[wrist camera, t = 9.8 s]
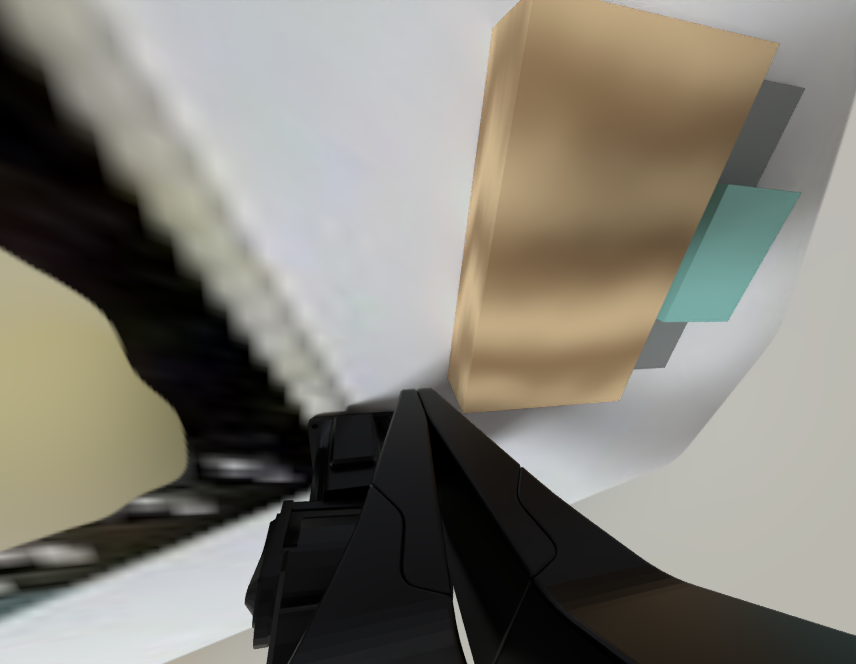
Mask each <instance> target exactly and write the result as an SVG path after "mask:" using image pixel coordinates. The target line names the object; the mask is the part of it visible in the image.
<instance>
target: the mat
mask: <svg viewBox="0 0 856 664" xmlns="http://www.w3.org/2000/svg"><path fill="white" fill-rule="evenodd" d="M804 90H805V88H800V87H795V86H790V85H785V84H780V83H775V82H771V81H766V80H763V82H762V85H761V87H760V89H759V91H758V94H757V96H756V98H755V100H754V102H753V105H752V107H751V109H750V111H749V113H748V116H747V118H746V120H745V122H744V125H743V127H742V129H741V131H740V133H739V136H738V138H737V140H736V142H735V145H734V147H733V149H732V151H731V153H730V156H729V158H728V160H727V162H726V165H725V167H724V169H723V171H722V173H721V176H720V178H719V180H718V182H717V184H729V185H738V186H747V187H756V185H757V183H758V181H759V179H760V177H761V175H762V173H763V171H764V169H765V167H766V165H767V163H768V161H769V159H770V157H771V155H772V153H773V151H774V149H775V147H776V145H777V143H778V141H779V139H780V137H781V135H782V133H783V131H784V129H785V128H786V126H787V124H788V122H789V120H790V118H791V116H792V114H793V112H794V110H795V108H796V106H797V104H798V102H799V100H800V98H801V96H802V94H803V92H804ZM686 324H687V322H662V321H660V320H658V319H656V320H655V322H654V325H653V327H652V329H651V331H650V333H649V336H648V338H647V340H646V342H645V345H644V347H643V349H642V351H641V353H640V356H639V358H638V360H637V362H636V364H635V367H634V369H648V368H665V366H666V364H667V362H668V360H669V358H670V356H671V354H672V352H673V350H674V348H675V346H676V344H677V342H678V340H679V338H680V336H681V334H682V332H683V330H684V328H685V326H686Z"/></svg>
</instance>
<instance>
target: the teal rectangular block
mask: <svg viewBox="0 0 856 664" xmlns="http://www.w3.org/2000/svg"><path fill="white" fill-rule="evenodd" d="M800 194H801V192H792V191H783V190H774V189H765V188H756V187H747V186H738V185H729V184H717V185H716V187H715V189H714V191H713V193H712V196H711V198H710V200H709V202H708V205H707V207H706V209H705V211H704V213H703V216H702V218H701V220H700V222H699V225H698V227H697V229H696V231H695V233H694V236H693V238H692V240H691V242H690V245H689V247H688V249H687V251H686V253H685V256H684V258H683V260H682V262H681V265H680V267H679V269H678V271H677V273H676V276H675V278H674V280H673V282H672V285H671V287H670V289H669V291H668V293H667V296H666V298H665V300H664V302H663V305H662V307H661V309H660V311H659V313H658V316H657V318H656V319H658V320H660V321H662V322H722V321H728V320H729V318H730V317H731V315H732V313H733V311H734V310H735V308H736V306H737V304H738V303H739V301H740V299H741V297H742V296H743V294H744V292H745V290H746V289H747V287H748V285H749V283H750V282H751V280H752V278H753V276H754V275H755V273H756V271H757V269H758V268H759V266H760V264H761V262H762V261H763V259H764V257H765V255H766V254H767V252H768V250H769V248H770V247H771V245H772V243H773V241H774V240H775V238H776V236H777V234H778V233H779V231H780V229H781V227H782V226H783V224H784V222H785V220H786V219H787V217H788V215H789V213H790V212H791V210H792V208H793V206H794V205H795V203H796V201H797V199H798V198H799V196H800Z"/></svg>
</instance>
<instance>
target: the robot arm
mask: <svg viewBox="0 0 856 664" xmlns="http://www.w3.org/2000/svg"><path fill="white" fill-rule="evenodd" d="M389 418H392V419H389ZM313 424H318V425H313ZM308 434H309V442H310V449H311V457H312V465H313V479H312V486H311V493H310V501H304V502H294V500H288V501H284V502H283V505H282V509H281V512H280V514H277V516H276V519H275V520H273V521H271V522H270V525H269V529H268V534H267V538H266V542H265V546H264V549H263V552H262V555H261V558H260V560H259V562H258V565H257V567H256V570H255V572H254V574H253V577H252V579H251V582H250V584H249V586H248V589H247V592H246V597H245V605H246V607H247V608H248V610H249V611H250V613H251V614H252V615H253V621H252V627H253V628H254V638H253V648H254V649H259V648H265V647H268V646H269V650H268V657H267V664H467V662H466V659H465V656H464V652H463V649H462V646H461V642H460V638H459V633H458V629H457V624H456V619H455V612H454V606H453V587H454V590H455V594H456V598H457V601H458V605H459V609H460V612H461V616H462V619H463V623H464V627H465V630H466V634H467V638H468V642H469V645H470V649H471V653H472V656H473V660H474V664H856V635H852V634H849V633H846V632H843V631H839V630H836V629H833V628H830V627H826V626H823V625H820V624H817V623H814V622H810V621H807V620H804V619H801V618H798V617H795V616H791V615H788V614H785V613H782V612H779V611H776V610H772V609H769V608H766V607H763V606H760V605H756V604H753V603H750V602H747V601H744V600H741V599H737V598H734V597H731V596H728V595H725V594H721V593H718V592H715V591H712V590H709V589H706V588H702V587H699V586H696V585H693V584H690V583H687V582H684V581H682V580H680V579H677V578H675V577H673V576H671V575H669V574H667V573H665V572H663V571H661V570H660V569H658V568H656V567H655V566H653V565H651V564H650V563H648V562H646V561H645V560H643V559H642V558H641V557H639V556H638V555H637V554H635V553H634V552H632V551H631V550H630V549H628V548H627V547H626V546H624V545H623V544H622V543H620V542H619V541H617V540H616V539H615V538H613V537H612V536H610V535H609V534H608V533H607V532H605V531H604V530H602V529H601V528H600V527H598V526H597V525H595V524H594V523H593V522H591V521H590V520H589V519H587V518H586V517H585V516H583V515H582V514H581V513H579V512H578V511H577V510H575V509H574V508H573V507H571V506H570V505H569V504H567V503H566V502H565V501H563V500H562V499H561V498H559V497H558V496H557V495H555V494H554V493H553V492H552V491H551V490H549V489H548V488H547V487H546V486H545V485H543V484H542V483H541V482H540V481H539V480H537V479H536V478H535V477H534V476H533V475H531V474H530V473H529V472H528V471H527V470H526V469H525V468H523V467H521V468H520V464H519V463H517V462H516V461H515V460H514V459H513V458H512V457H510V456H509V455H508V454H507V453H506V452H505V451H504V450H502V449H501V448H500V447H499V446H498V445H497V444H496V443H494V442H493V441H492V440H491V439H490V438H489V437H487V436H486V435H485V434H484V433H483V432H482V431H481V430H479V429H478V428H477V427H476V426H475V425H474V424H472V423H471V422H470V421H469V420H468V419H467V418H466V417H464V416H463V415H462V414H461V413H460V412H459V411H457V410H456V409H455V408H454V407H453V406H452V405H451V404H449V403H448V402H447V401H446V400H445V399H444V398H442V397H441V396H440V395H439V394H438V393H437V392H436V391H434V390H433V389H432V388H422V389H418V390H415V389H406V390H402V391H401V393H400V396H399V399H398V402H397V405H396V408H395V411H394V412H378V413H365V414H352V415H339V416H326V417H314V418H311V419H310V420H309V422H308Z"/></svg>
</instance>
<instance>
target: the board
mask: <svg viewBox="0 0 856 664" xmlns="http://www.w3.org/2000/svg"><path fill="white" fill-rule="evenodd" d="M779 45H780V44H779V43H775V42H770V41H766V40H762V39H758V38H754V37H750V36H745V35H741V34H737V33H733V32H729V31H725V30H720V29H716V28H712V27H708V26H704V25H700V24H695V23H691V22H687V21H683V20H679V19H675V18H670V17H666V16H662V15H658V14H654V13H650V12H645V11H641V10H637V9H633V8H629V7H625V6H620V5H616V4H612V3H608V2H604V1H600V0H520V1H519V2H518V3H517V4H516V5H515V6H514V7H513V8H512V9H511V10H510V11H509V12H508V13H507V14H506V15H505V16H504V17H503V18H502V19H501V20H500V21H499V22H498V23H497V24H496V25H495V26H494V27H493V30H492V38H491V46H490V53H489V61H488V69H487V76H486V84H485V92H484V100H483V107H482V115H481V123H480V130H479V138H478V146H477V153H476V161H475V169H474V177H473V184H472V192H471V200H470V207H469V215H468V223H467V230H466V238H465V246H464V253H463V261H462V269H461V277H460V284H459V292H458V300H457V307H456V315H455V323H454V330H453V338H452V346H451V354H450V361H449V369H448V377H447V378H448V380H449V382H450V385H451V387H452V389H453V392H454V394H455V396H456V398H457V401H458V403H459V405H460V408H461V410H462V412H463V413H475V412H487V411H499V410H511V409H524V408H536V407H548V406H560V405H573V404H585V403H597V402H609V401H619V400H620V398H621V396H622V393H623V391H624V389H625V387H626V384H627V382H628V380H629V378H630V376H631V373H632V371H633V369H634V367H635V364H636V362H637V360H638V358H639V356H640V353H641V351H642V349H643V347H644V345H645V342H646V340H647V338H648V336H649V333H650V331H651V329H652V327H653V325H654V322H655V320H656V318H657V316H658V313H659V311H660V309H661V307H662V305H663V302H664V300H665V298H666V296H667V293H668V291H669V289H670V287H671V285H672V282H673V280H674V278H675V276H676V273H677V271H678V269H679V267H680V265H681V262H682V260H683V258H684V256H685V253H686V251H687V249H688V247H689V245H690V242H691V240H692V238H693V236H694V233H695V231H696V229H697V227H698V225H699V222H700V220H701V218H702V216H703V213H704V211H705V209H706V207H707V205H708V202H709V200H710V198H711V196H712V193H713V191H714V189H715V187H716V185H717V182H718V180H719V178H720V176H721V173H722V171H723V169H724V167H725V165H726V162H727V160H728V158H729V156H730V153H731V151H732V149H733V147H734V145H735V142H736V140H737V138H738V136H739V133H740V131H741V129H742V127H743V125H744V122H745V120H746V118H747V116H748V113H749V111H750V109H751V107H752V105H753V102H754V100H755V98H756V96H757V94H758V91H759V89H760V87H761V85H762V82H763V80H764V78H765V76H766V74H767V71H768V69H769V67H770V65H771V62H772V60H773V58H774V56H775V54H776V51H777V49H778V47H779Z"/></svg>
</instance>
